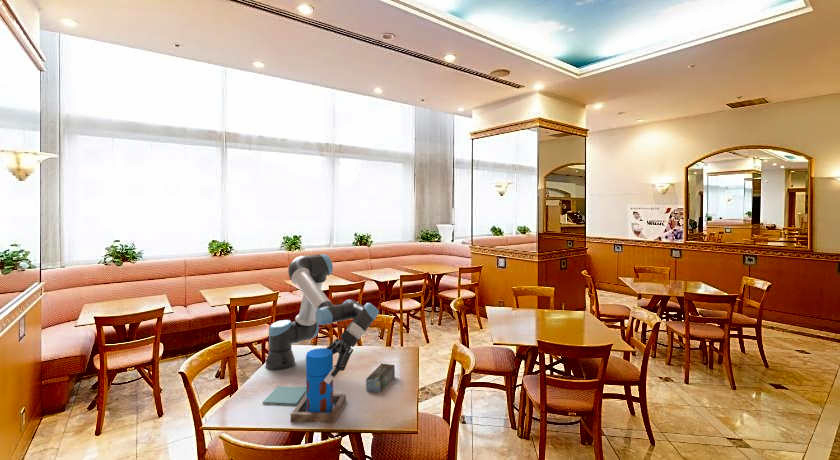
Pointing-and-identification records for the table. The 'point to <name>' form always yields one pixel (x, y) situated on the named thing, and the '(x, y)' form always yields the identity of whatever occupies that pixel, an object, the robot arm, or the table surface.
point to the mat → (285, 395)
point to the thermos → (319, 381)
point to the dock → (318, 417)
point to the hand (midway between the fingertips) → (319, 376)
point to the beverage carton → (380, 378)
